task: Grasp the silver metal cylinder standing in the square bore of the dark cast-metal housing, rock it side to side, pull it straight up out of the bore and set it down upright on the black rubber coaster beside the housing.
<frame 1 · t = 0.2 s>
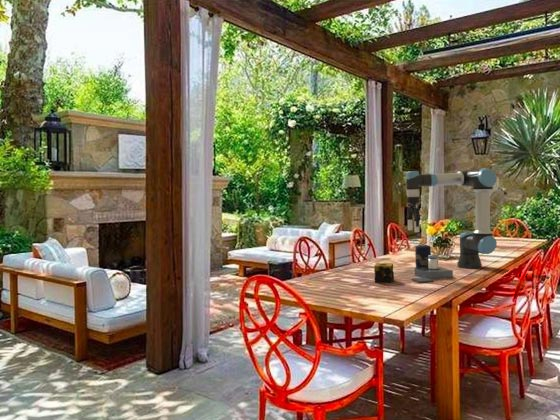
hand: (413, 231, 294), 27 cm above the table, fingers open, 13 cm apart
coaster: (422, 281, 276), on the table
housing: (433, 276, 289), on the table
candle: (384, 281, 280), on the table
silver metal cylinder: (433, 265, 289), in the housing
canister: (423, 272, 304), on the table
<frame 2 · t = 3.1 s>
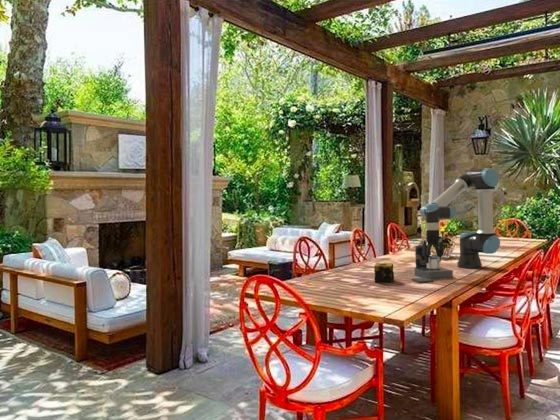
hand: (433, 267, 289), 5 cm above the table, fingers closed on silver metal cylinder, 6 cm apart
silver metal cylinder: (433, 265, 289), in the housing, touching gripper
everything else where it was.
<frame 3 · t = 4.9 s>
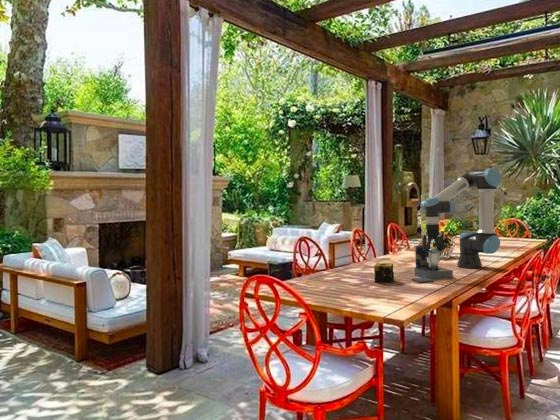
hand: (433, 261, 289), 9 cm above the table, fingers closed on silver metal cylinder, 6 cm apart
silver metal cylinder: (433, 260, 289), point 10 cm above the table, touching gripper
everything else where it was.
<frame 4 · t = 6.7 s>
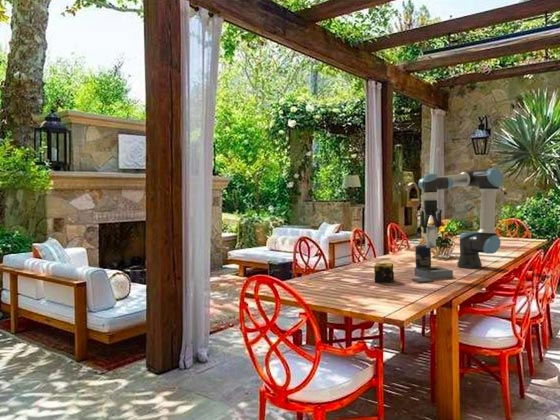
hand: (431, 238, 286), 23 cm above the table, fingers closed on silver metal cylinder, 6 cm apart
silver metal cylinder: (431, 236, 286), point 24 cm above the table, touching gripper
everything else where it was.
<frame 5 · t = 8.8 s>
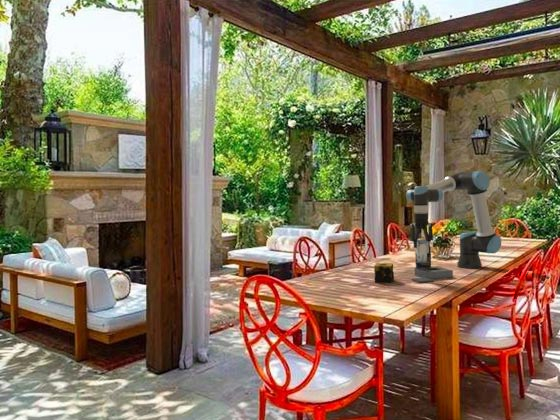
hand: (421, 253, 276), 16 cm above the table, fingers closed on silver metal cylinder, 6 cm apart
silver metal cylinder: (421, 251, 276), point 18 cm above the table, touching gripper
everything else where it was.
when the fingers open (7 cm above the table, at t = 10.7 s): silver metal cylinder stays where it is, resting on coaster.
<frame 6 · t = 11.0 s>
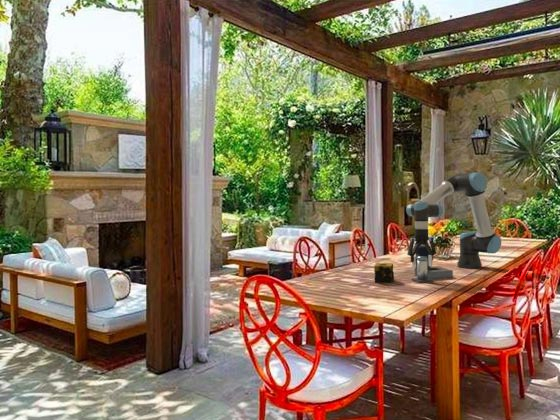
hand: (422, 267, 276), 8 cm above the table, fingers open, 10 cm apart
silver metal cylinder: (422, 268, 276), on the coaster, point 8 cm above the table
everything else where it was.
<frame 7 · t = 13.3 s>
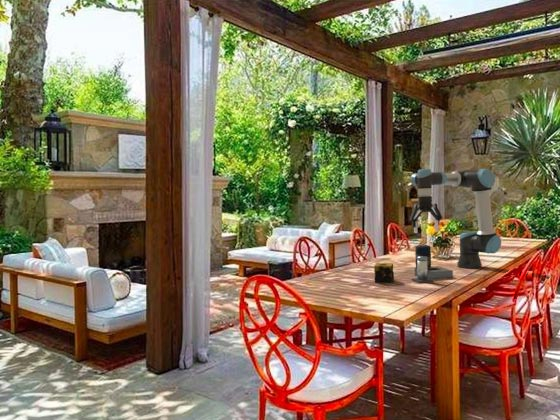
hand: (426, 232, 279), 28 cm above the table, fingers open, 13 cm apart
nothing on the table moved.
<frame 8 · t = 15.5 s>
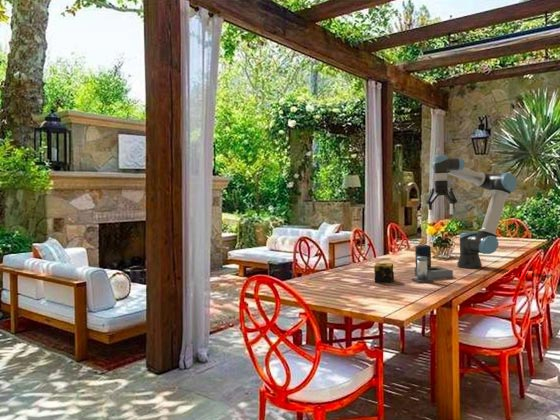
hand: (441, 214, 296), 37 cm above the table, fingers open, 13 cm apart
nothing on the table moved.
at the end: silver metal cylinder inside the target area on the coaster (0.1 cm from its centre), point 7.6 cm above the coaster's base; silver metal cylinder tilted 1°; the gripper is holding nothing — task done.
